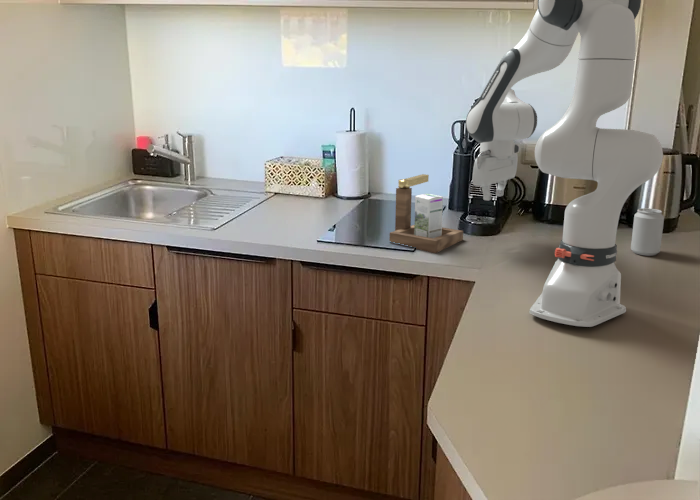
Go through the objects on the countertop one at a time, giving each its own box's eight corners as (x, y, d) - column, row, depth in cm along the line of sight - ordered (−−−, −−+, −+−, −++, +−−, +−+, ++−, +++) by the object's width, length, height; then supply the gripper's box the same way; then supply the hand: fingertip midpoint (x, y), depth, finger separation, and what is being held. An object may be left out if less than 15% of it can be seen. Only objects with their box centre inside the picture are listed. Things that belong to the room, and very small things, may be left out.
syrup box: (442, 246, 201) (444, 195, 197) (427, 250, 197) (429, 198, 194) (427, 242, 205) (429, 192, 201) (412, 245, 201) (414, 195, 198)
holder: (435, 255, 192) (437, 198, 188) (383, 245, 202) (384, 191, 198) (462, 244, 203) (465, 190, 199) (412, 235, 213) (413, 184, 209)
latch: (406, 188, 201) (406, 181, 200) (396, 187, 202) (396, 180, 202) (430, 181, 212) (430, 174, 212) (420, 180, 214) (420, 174, 213)
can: (662, 257, 192) (667, 213, 188) (632, 255, 193) (637, 211, 190) (656, 250, 199) (661, 207, 196) (628, 248, 200) (632, 206, 197)
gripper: (489, 153, 186) (486, 205, 190) (522, 145, 202) (519, 194, 205) (467, 151, 190) (465, 202, 193) (502, 144, 206) (499, 191, 209)
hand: (493, 198), depth 200 cm, fingers open, 6 cm apart
